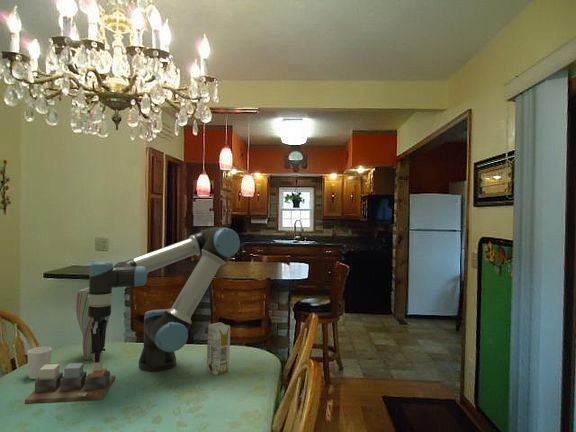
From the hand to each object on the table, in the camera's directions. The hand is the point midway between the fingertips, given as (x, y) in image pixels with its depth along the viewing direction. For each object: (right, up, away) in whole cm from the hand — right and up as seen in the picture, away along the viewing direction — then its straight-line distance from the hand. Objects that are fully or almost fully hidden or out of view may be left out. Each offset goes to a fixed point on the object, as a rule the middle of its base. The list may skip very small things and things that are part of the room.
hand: (97, 370), depth 145 cm
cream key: (-16, -3, -3) cm, 16 cm away
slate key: (-8, -3, -1) cm, 8 cm away
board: (-8, -7, -1) cm, 10 cm away
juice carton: (+40, -8, +20) cm, 45 cm away
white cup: (-27, -6, +10) cm, 30 cm away
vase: (-17, -7, +31) cm, 36 cm away
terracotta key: (0, -5, 0) cm, 5 cm away
